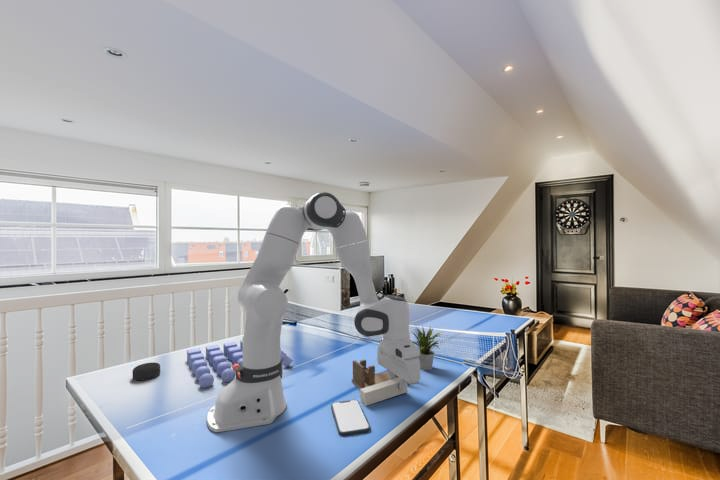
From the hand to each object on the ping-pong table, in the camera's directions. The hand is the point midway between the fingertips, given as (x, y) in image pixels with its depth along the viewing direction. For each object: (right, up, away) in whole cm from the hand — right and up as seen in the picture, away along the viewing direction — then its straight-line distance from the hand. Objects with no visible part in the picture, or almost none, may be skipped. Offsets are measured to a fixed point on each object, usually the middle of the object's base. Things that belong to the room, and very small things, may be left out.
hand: (397, 386), depth 109 cm
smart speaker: (-94, -4, +16) cm, 95 cm away
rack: (-4, -3, +10) cm, 11 cm away
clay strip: (-4, -2, -2) cm, 5 cm away
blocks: (-63, -4, +28) cm, 69 cm away
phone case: (-15, -3, -14) cm, 21 cm away
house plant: (+14, -2, +20) cm, 25 cm away
